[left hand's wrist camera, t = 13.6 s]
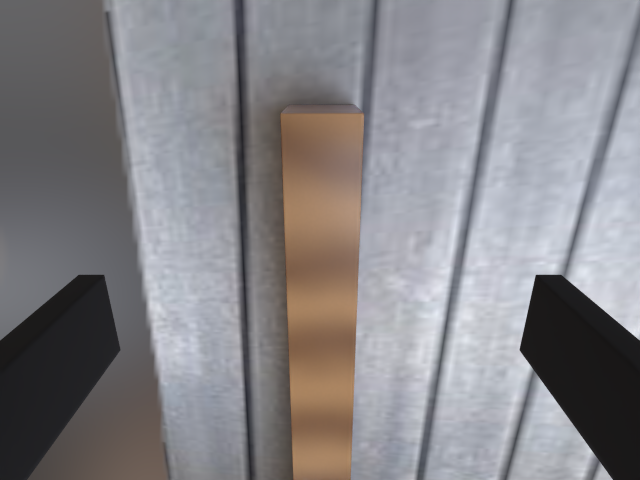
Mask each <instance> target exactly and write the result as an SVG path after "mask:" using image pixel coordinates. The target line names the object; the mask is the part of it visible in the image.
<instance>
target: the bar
mask: <svg viewBox="0 0 640 480" xmlns="http://www.w3.org/2000/svg"><path fill="white" fill-rule="evenodd" d="M280 121H281V149H282V177H283V205H284V234H285V262H286V290H287V318H288V346H289V375H290V403H291V431H292V459H293V480H350V479H351V452H352V425H353V398H354V371H355V345H356V318H357V291H358V264H359V237H360V210H361V183H362V157H363V130H364V113H363V112H362V111H361V110H360V109H359V108H357V107H356V106H355V105H288V106H287V107H286V108H285V109H284V110H283V111H282V113H281V114H280Z"/></svg>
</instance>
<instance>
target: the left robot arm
mask: <svg viewBox="0 0 640 480" xmlns="http://www.w3.org/2000/svg"><path fill="white" fill-rule="evenodd" d="M119 351H120V346H119V341H118V337H117V332H116V328H115V323H114V318H113V314H112V309H111V304H110V300H109V295H108V291H107V286H106V282H105V277H104V275H78V276H77V277H76V278H75V279H73V280H72V281H71V282H70V283H69V284H67V285H66V286H65V287H64V288H63V289H61V290H60V291H59V292H58V293H57V294H55V295H54V296H53V297H52V298H51V299H49V300H48V301H47V302H46V303H45V304H43V305H42V306H41V307H40V308H39V309H37V310H36V311H35V312H34V313H33V314H32V315H30V316H29V317H28V318H27V319H26V320H24V321H23V322H22V323H21V324H20V325H18V326H17V327H16V328H15V329H14V330H12V331H11V332H10V333H9V334H8V335H6V336H5V337H4V338H3V339H2V340H0V480H27V479H28V477H29V476H30V475H31V473H32V472H33V471H34V469H35V468H36V466H37V465H38V464H39V462H40V461H41V459H42V458H43V457H44V455H45V454H46V453H47V451H48V450H49V448H50V447H51V446H52V444H53V443H54V441H55V440H56V439H57V437H58V436H59V434H60V433H61V432H62V430H63V429H64V428H65V426H66V425H67V423H68V422H69V421H70V419H71V418H72V416H73V415H74V414H75V412H76V411H77V410H78V408H79V407H80V405H81V404H82V403H83V401H84V400H85V398H86V397H87V396H88V394H89V393H90V391H91V390H92V389H93V387H94V386H95V385H96V383H97V382H98V380H99V379H100V378H101V376H102V375H103V373H104V372H105V371H106V369H107V368H108V366H109V365H110V364H111V362H112V361H113V360H114V358H115V357H116V355H117V354H118V353H119ZM520 351H521V353H522V354H523V355H524V357H525V358H526V360H527V361H528V362H529V364H530V365H531V367H532V368H533V369H534V371H535V372H536V373H537V375H538V376H539V378H540V379H541V380H542V382H543V383H544V385H545V386H546V387H547V389H548V390H549V392H550V393H551V394H552V396H553V397H554V398H555V400H556V401H557V403H558V404H559V405H560V407H561V408H562V410H563V411H564V412H565V414H566V415H567V416H568V418H569V419H570V421H571V422H572V423H573V425H574V426H575V428H576V429H577V430H578V432H579V433H580V435H581V436H582V437H583V439H584V440H585V441H586V443H587V444H588V446H589V447H590V448H591V450H592V451H593V453H594V454H595V455H596V457H597V458H598V459H599V461H600V462H601V464H602V465H603V466H604V468H605V469H606V471H607V472H608V473H609V475H610V476H611V478H612V479H613V480H640V340H638V339H637V338H636V337H635V336H634V335H632V334H631V333H630V332H629V331H628V330H626V329H625V328H624V327H623V326H622V325H620V324H619V323H618V322H617V321H616V320H614V319H613V318H612V317H611V316H610V315H608V314H607V313H606V312H605V311H604V310H603V309H601V308H600V307H599V306H598V305H597V304H595V303H594V302H593V301H592V300H591V299H589V298H588V297H587V296H586V295H585V294H583V293H582V292H581V291H580V290H579V289H577V288H576V287H575V286H574V285H573V284H571V283H570V282H569V281H568V280H567V279H565V278H564V277H563V276H562V275H536V277H535V281H534V286H533V291H532V295H531V300H530V304H529V309H528V314H527V318H526V323H525V328H524V332H523V337H522V341H521V346H520Z"/></svg>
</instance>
